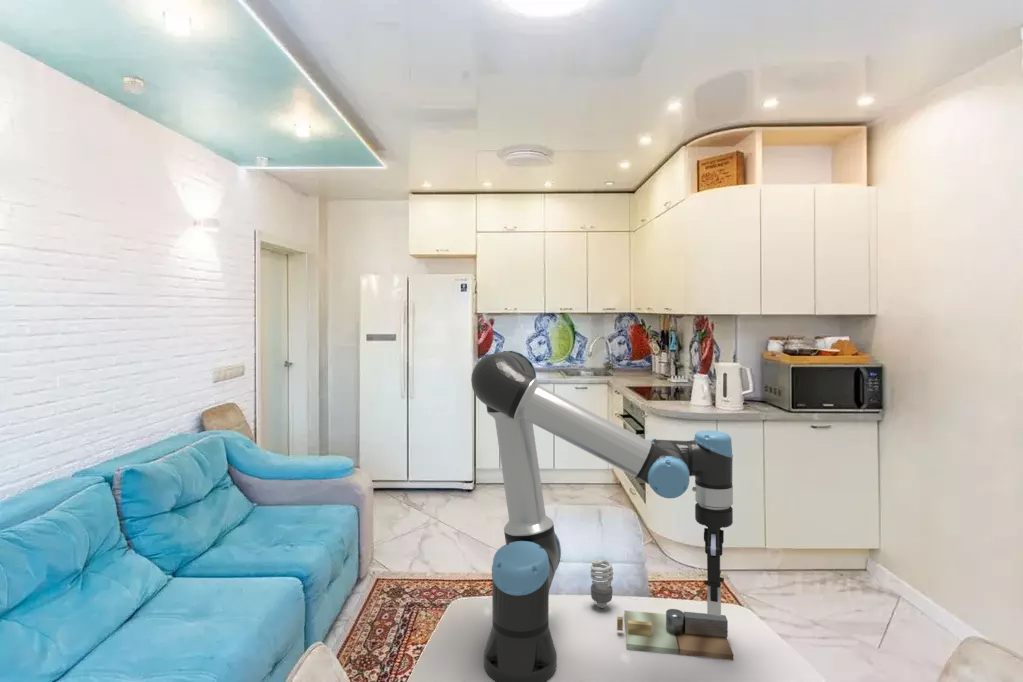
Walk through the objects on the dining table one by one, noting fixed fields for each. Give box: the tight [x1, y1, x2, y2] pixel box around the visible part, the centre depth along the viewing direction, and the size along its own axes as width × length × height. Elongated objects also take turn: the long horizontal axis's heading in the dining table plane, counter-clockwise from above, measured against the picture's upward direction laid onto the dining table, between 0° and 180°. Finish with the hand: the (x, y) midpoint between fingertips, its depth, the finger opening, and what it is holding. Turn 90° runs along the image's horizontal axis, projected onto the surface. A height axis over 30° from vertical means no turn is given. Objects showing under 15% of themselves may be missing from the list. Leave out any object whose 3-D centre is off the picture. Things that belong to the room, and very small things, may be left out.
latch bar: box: [665, 608, 729, 638], centre depth 121 cm, size 13×4×4 cm, turn 80°
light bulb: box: [589, 559, 614, 609], centre depth 134 cm, size 6×6×12 cm
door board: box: [616, 610, 735, 661], centre depth 122 cm, size 24×14×4 cm, turn 80°
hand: (714, 613), depth 116 cm, fingers closed
